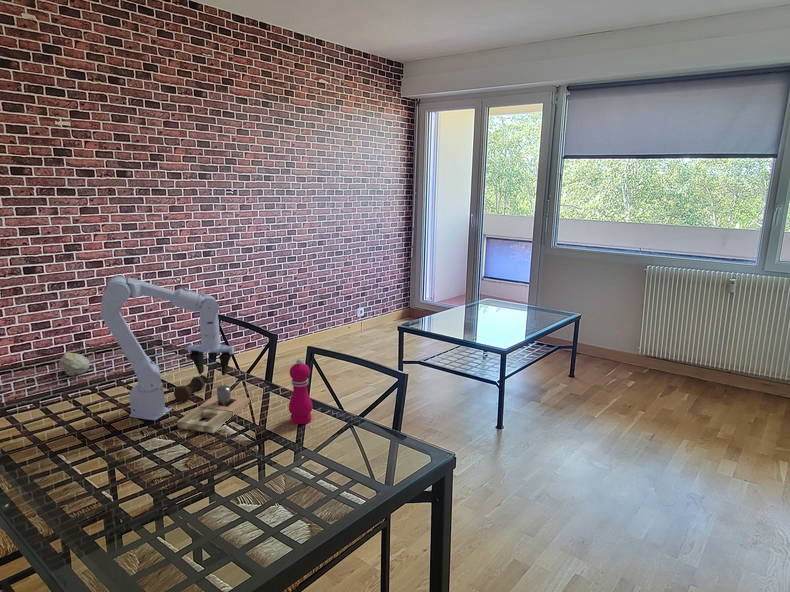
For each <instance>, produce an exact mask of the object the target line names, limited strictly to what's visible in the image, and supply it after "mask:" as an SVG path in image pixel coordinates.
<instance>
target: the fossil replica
mask: <svg viewBox="0 0 790 592" xmlns="http://www.w3.org/2000/svg"><path fill="white" fill-rule="evenodd" d="M90 365H91V362H90V359H89V358H87V357H85V356H84V355H83V354H80V353H77V352H75V353H74V352H65V353H64V354H63V356H62V357H61V358H60V359H59V362H58V366H59V370H61V371H62V372H65V374H66V375H68V376H69V377H72V376H77V375H82V374H84V373H86V371H88V370H89V368H90Z"/></svg>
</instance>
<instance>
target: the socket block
mask: <svg viewBox="0 0 790 592" xmlns="http://www.w3.org/2000/svg"><path fill="white" fill-rule="evenodd" d="M230 396H231V405H229V406H228V407H224V406H218V399H217V393H216V394H214V395H212V397H210V398H209V399H207V400H206V401H204V402H203V403H201V404H200V405H198V407H201V408H208V409H215V410H221V411H228V412H232V416H234V415H235V414H236V415H238V414H239V413H240V412H241V411H242V409H243V408H244V407H245V406H246V405H247V404H248V403H251V402H250V397H244V396H236V395H230ZM246 407H247V406H246ZM246 407H245V408H246ZM245 408H244V409H245ZM244 409H243V410H244ZM238 412H239V413H238ZM237 413H238V414H237ZM236 415H235V416H236ZM235 416H234V417H235Z"/></svg>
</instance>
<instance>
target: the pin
mask: <svg viewBox="0 0 790 592" xmlns="http://www.w3.org/2000/svg"><path fill="white" fill-rule="evenodd" d="M216 394H217V399H218V406H224V407H228V406H229V405H231V396H232V395H231V386H230V385H226V384H224V385H219V386H217V387H216Z"/></svg>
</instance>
